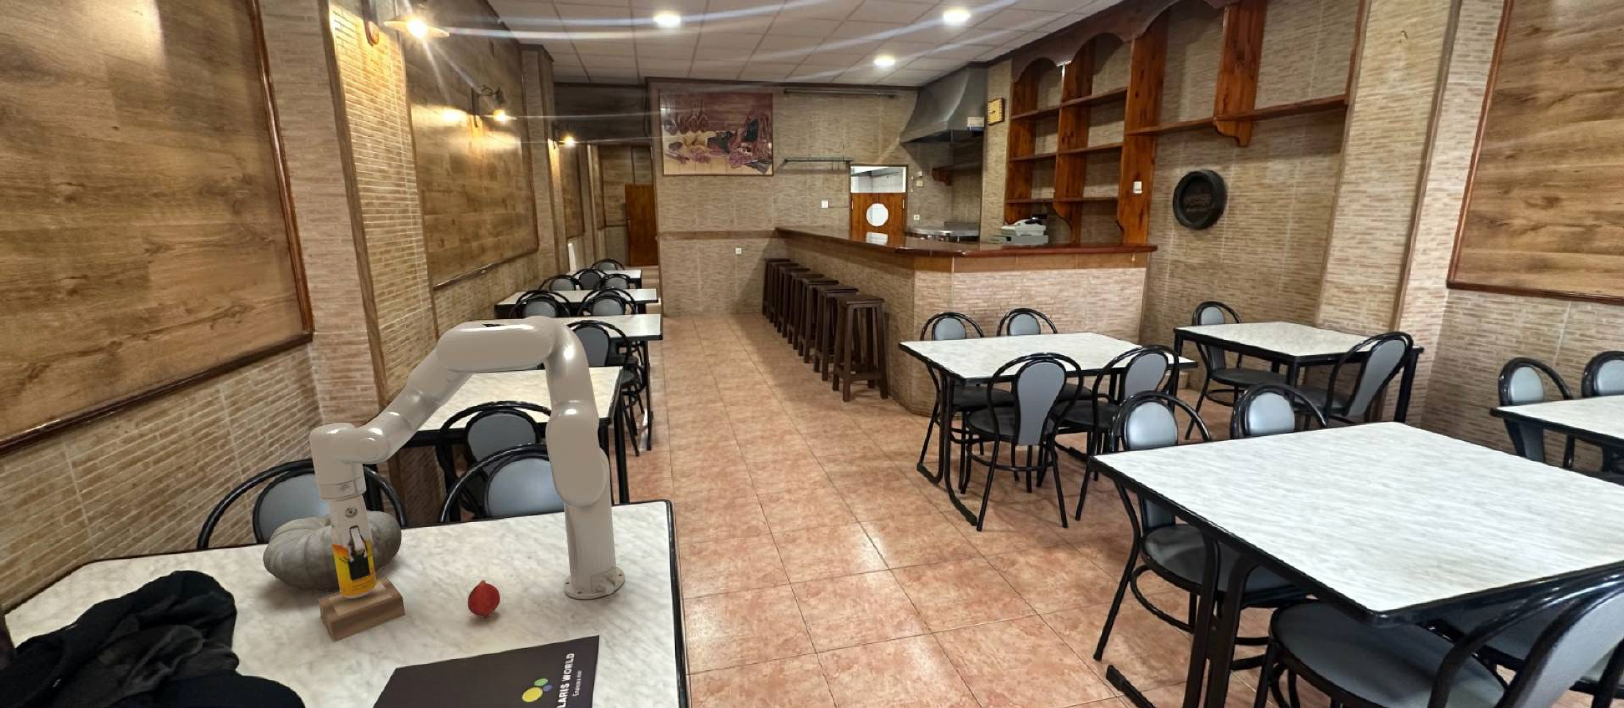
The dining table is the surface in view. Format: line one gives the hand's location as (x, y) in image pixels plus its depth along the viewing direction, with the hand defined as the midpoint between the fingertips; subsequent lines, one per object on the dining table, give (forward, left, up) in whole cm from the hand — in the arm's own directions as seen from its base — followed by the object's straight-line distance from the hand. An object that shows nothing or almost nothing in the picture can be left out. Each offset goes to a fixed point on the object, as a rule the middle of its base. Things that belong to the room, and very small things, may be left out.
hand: (356, 570), depth 133 cm
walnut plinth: (0, 0, -10) cm, 10 cm away
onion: (-19, -17, -10) cm, 27 cm away
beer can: (0, 0, -5) cm, 5 cm away
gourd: (+22, 0, -10) cm, 24 cm away
